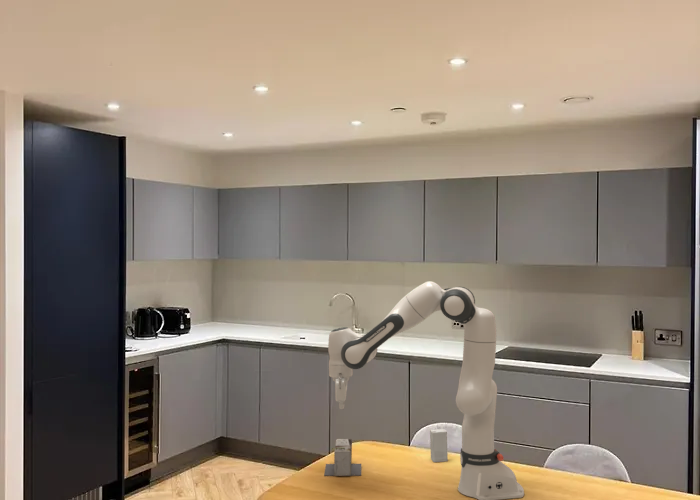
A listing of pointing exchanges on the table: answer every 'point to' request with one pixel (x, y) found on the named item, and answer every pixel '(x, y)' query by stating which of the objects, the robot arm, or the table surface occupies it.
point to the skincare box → (438, 445)
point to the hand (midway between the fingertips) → (341, 408)
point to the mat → (354, 472)
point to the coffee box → (343, 457)
